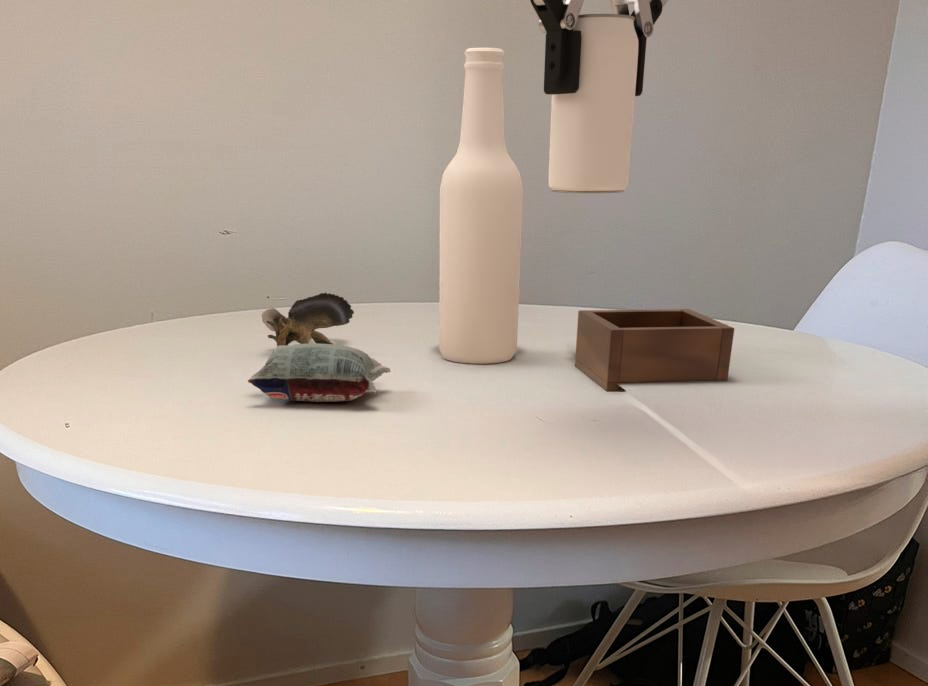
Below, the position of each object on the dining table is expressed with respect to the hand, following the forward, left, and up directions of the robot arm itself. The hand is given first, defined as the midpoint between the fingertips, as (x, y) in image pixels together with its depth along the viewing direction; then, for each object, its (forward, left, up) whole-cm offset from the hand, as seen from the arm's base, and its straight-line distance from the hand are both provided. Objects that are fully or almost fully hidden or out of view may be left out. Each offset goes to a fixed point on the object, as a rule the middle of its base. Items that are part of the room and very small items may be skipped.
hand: (593, 92), depth 76 cm
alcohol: (+4, -27, -25) cm, 37 cm away
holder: (-12, -15, -25) cm, 31 cm away
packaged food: (+22, -9, -25) cm, 35 cm away
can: (0, 0, -7) cm, 7 cm away
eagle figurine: (+23, -31, -25) cm, 46 cm away
